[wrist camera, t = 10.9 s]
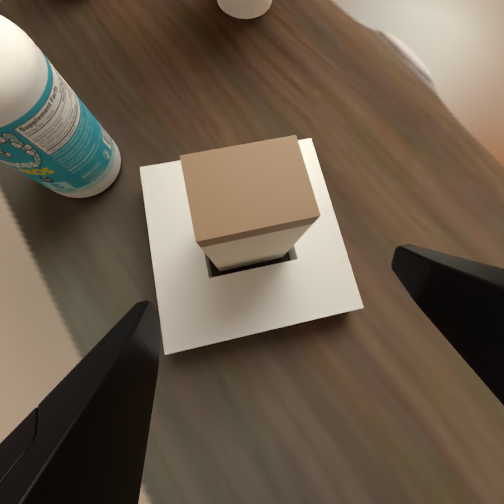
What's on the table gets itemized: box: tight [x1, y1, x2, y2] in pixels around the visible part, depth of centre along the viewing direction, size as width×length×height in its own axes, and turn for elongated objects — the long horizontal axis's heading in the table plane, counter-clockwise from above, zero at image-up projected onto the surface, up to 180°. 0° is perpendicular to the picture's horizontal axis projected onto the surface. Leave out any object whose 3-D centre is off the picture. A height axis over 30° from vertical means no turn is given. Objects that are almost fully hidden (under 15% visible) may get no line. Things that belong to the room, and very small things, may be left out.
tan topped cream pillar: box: [180, 135, 321, 271], centre depth 16 cm, size 4×6×11 cm
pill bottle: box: [0, 15, 121, 198], centre depth 16 cm, size 8×7×14 cm
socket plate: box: [140, 138, 364, 355], centre depth 21 cm, size 16×16×2 cm
